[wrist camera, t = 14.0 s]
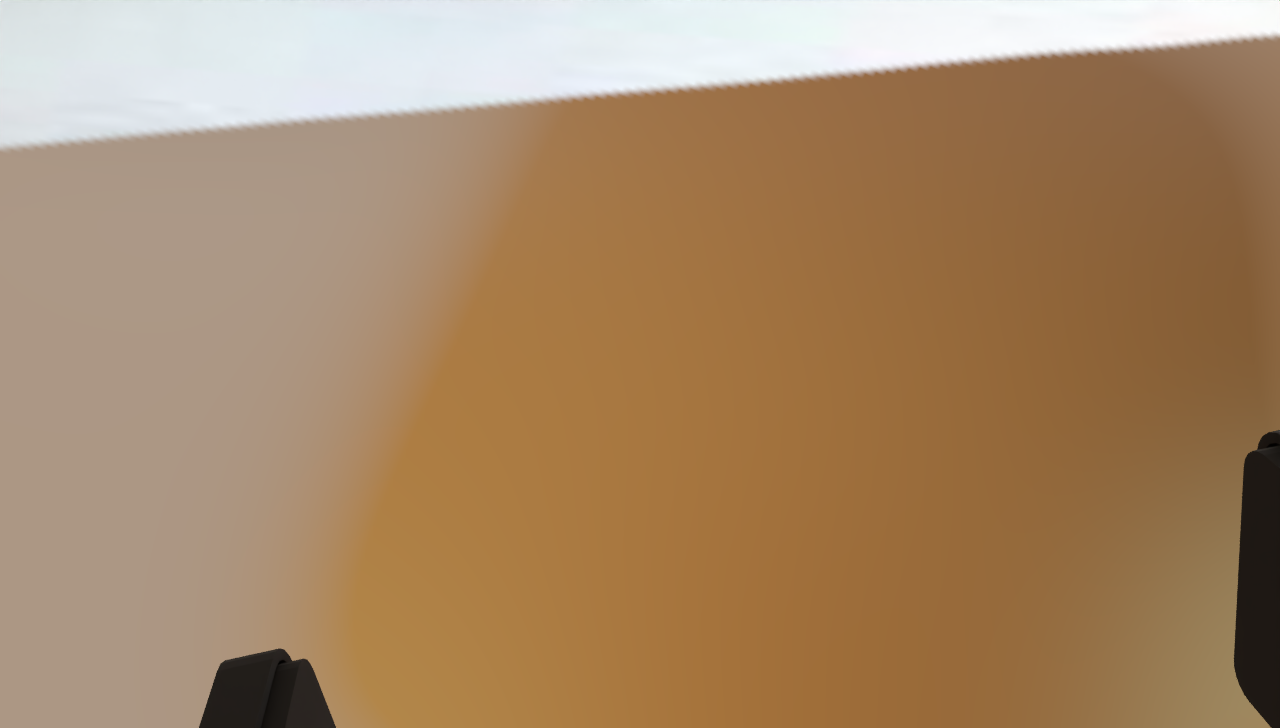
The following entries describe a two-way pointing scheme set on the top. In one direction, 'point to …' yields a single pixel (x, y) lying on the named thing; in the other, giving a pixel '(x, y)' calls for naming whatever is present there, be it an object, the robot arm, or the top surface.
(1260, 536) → the robot arm
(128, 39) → the top surface
